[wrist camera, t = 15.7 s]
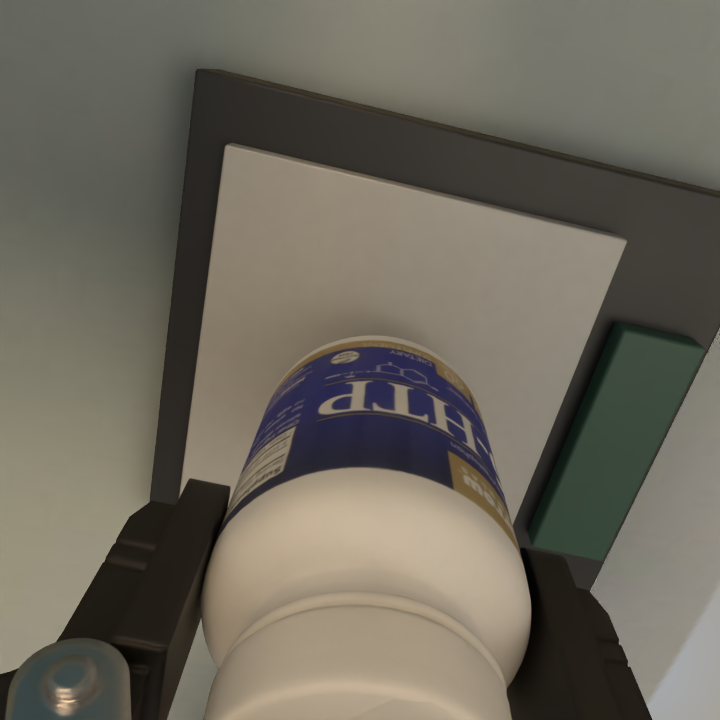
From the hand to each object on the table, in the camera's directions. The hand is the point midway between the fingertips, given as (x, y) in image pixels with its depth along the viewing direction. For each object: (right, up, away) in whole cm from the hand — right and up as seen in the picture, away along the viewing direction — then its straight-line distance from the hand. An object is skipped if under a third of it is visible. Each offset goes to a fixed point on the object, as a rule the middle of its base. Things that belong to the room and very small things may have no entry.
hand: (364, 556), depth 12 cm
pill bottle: (0, +2, +4) cm, 5 cm away
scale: (+2, +3, +8) cm, 9 cm away
